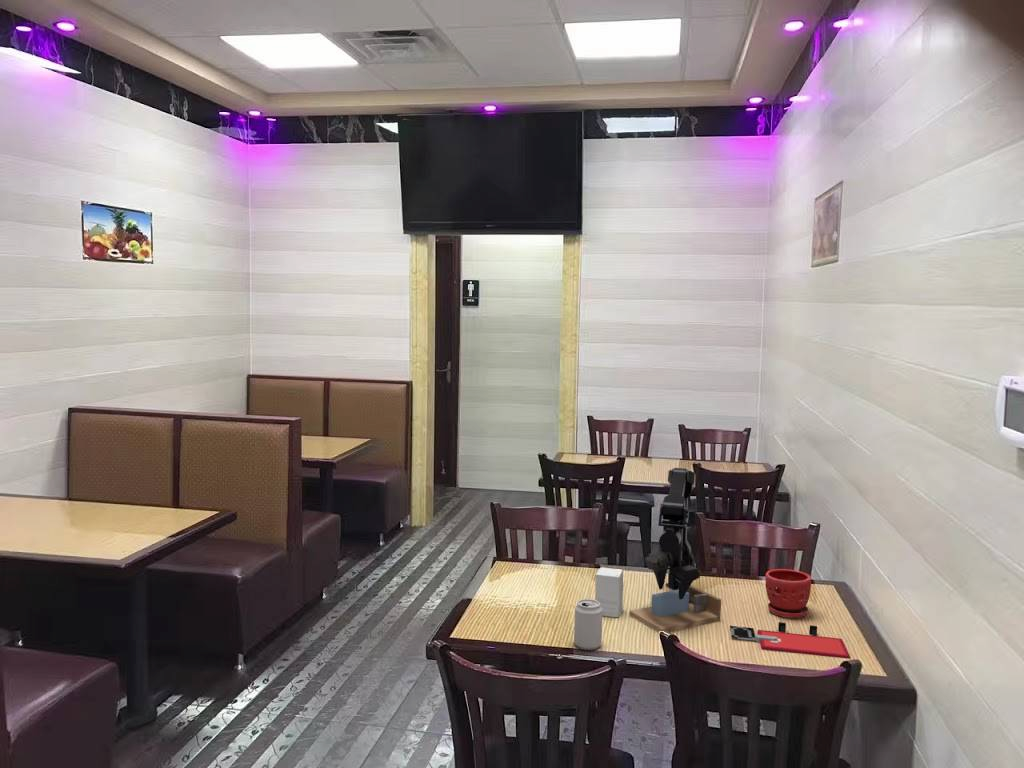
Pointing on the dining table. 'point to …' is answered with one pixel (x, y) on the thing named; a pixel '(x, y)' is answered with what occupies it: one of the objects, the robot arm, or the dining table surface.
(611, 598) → the supplement box
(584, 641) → the can
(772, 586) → the plant pot
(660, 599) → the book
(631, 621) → the dining table surface
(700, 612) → the shelf
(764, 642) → the red board with handle
